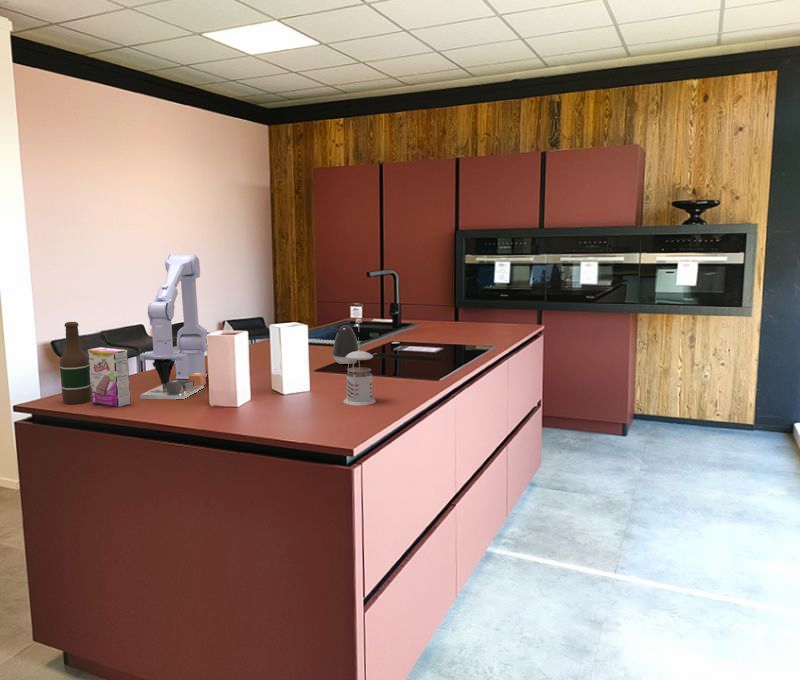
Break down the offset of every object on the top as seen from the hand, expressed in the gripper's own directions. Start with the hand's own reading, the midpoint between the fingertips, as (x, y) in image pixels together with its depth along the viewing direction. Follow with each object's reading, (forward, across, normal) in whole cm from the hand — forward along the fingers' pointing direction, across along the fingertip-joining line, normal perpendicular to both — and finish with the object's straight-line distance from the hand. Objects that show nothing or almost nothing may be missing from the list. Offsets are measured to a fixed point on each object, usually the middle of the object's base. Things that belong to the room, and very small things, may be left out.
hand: (165, 383), depth 203 cm
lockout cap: (+4, +4, +14) cm, 15 cm away
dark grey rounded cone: (+4, +45, +60) cm, 75 cm away
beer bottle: (+4, -23, -10) cm, 25 cm away
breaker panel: (+4, +1, +3) cm, 5 cm away
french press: (+4, +61, 0) cm, 61 cm away
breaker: (+3, +3, 0) cm, 4 cm away
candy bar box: (+4, -11, -12) cm, 17 cm away
